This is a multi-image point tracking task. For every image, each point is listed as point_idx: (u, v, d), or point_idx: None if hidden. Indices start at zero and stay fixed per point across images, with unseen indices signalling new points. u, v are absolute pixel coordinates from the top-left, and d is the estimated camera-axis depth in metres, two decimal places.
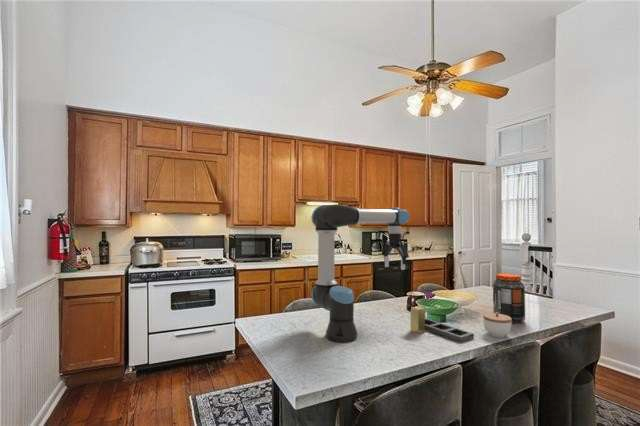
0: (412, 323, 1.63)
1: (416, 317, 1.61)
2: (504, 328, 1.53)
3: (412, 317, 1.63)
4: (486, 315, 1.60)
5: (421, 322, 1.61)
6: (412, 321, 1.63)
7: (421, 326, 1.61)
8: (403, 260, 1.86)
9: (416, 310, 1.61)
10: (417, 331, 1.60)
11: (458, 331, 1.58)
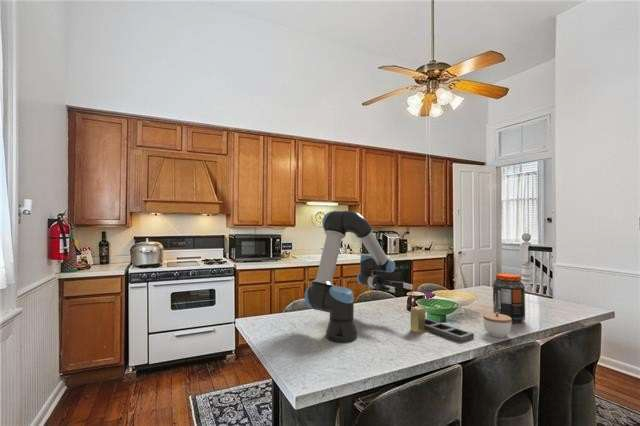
0: (412, 323, 1.63)
1: (416, 317, 1.61)
2: (504, 328, 1.53)
3: (412, 317, 1.63)
4: (486, 315, 1.60)
5: (421, 322, 1.61)
6: (412, 321, 1.63)
7: (421, 326, 1.61)
8: None
9: (416, 310, 1.61)
10: (417, 331, 1.60)
11: (458, 331, 1.58)
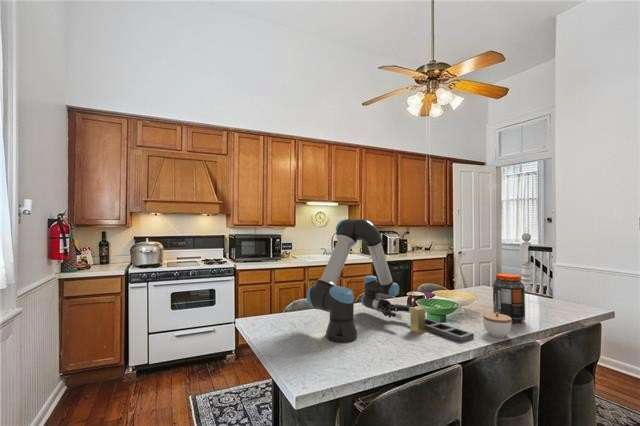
0: (412, 323, 1.63)
1: (416, 317, 1.61)
2: (504, 328, 1.53)
3: (412, 317, 1.63)
4: (486, 315, 1.60)
5: (421, 322, 1.61)
6: (412, 321, 1.63)
7: (421, 326, 1.61)
8: None
9: (416, 310, 1.61)
10: (417, 331, 1.60)
11: (458, 331, 1.58)
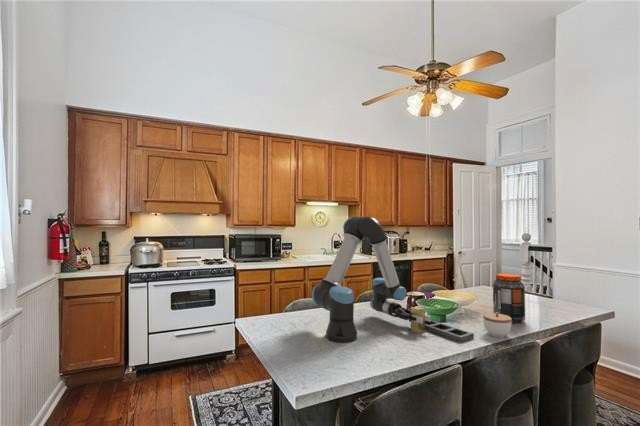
0: (412, 323, 1.63)
1: None
2: (504, 328, 1.53)
3: None
4: (486, 315, 1.60)
5: None
6: (412, 321, 1.63)
7: (421, 326, 1.61)
8: None
9: (416, 310, 1.61)
10: (417, 331, 1.60)
11: (458, 331, 1.58)
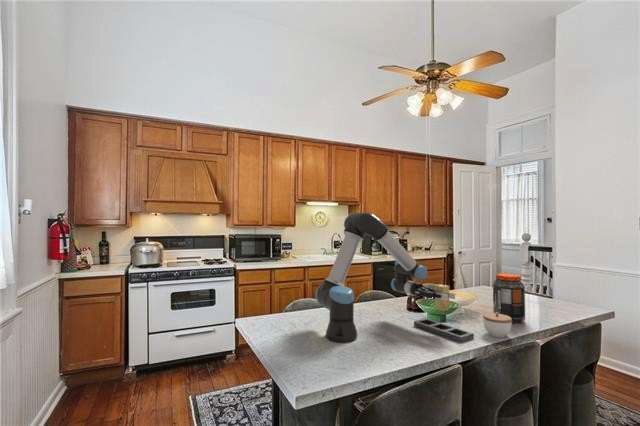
0: (436, 301, 1.63)
1: None
2: (504, 328, 1.53)
3: None
4: (486, 315, 1.60)
5: None
6: (436, 299, 1.63)
7: (446, 303, 1.61)
8: None
9: (440, 287, 1.61)
10: (441, 308, 1.60)
11: (458, 331, 1.58)
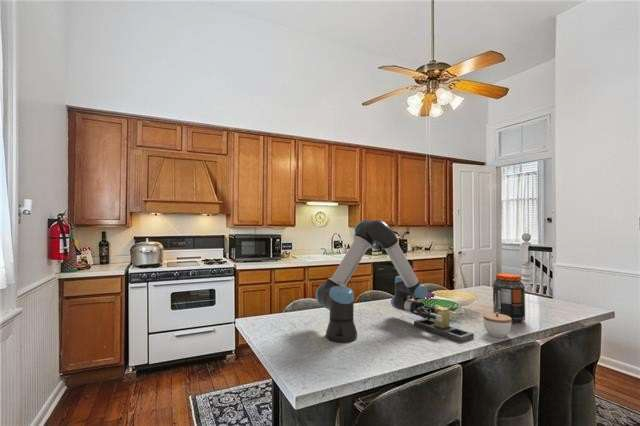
0: (436, 324, 1.62)
1: None
2: (504, 328, 1.53)
3: None
4: (486, 315, 1.60)
5: (445, 322, 1.60)
6: (436, 322, 1.62)
7: (446, 327, 1.60)
8: None
9: (440, 310, 1.60)
10: None
11: (458, 331, 1.58)
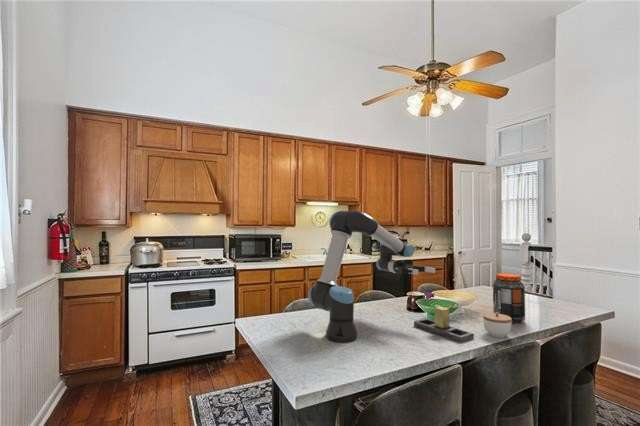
0: (436, 324, 1.62)
1: (440, 317, 1.60)
2: (504, 328, 1.53)
3: (436, 317, 1.62)
4: (486, 315, 1.60)
5: (445, 322, 1.60)
6: (436, 322, 1.62)
7: (446, 327, 1.60)
8: None
9: (440, 310, 1.60)
10: None
11: (458, 331, 1.58)
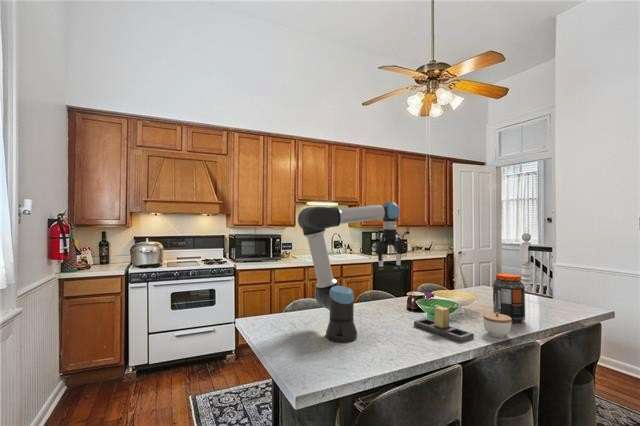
0: (436, 324, 1.62)
1: (440, 318, 1.60)
2: (504, 328, 1.53)
3: (436, 318, 1.62)
4: (486, 315, 1.60)
5: (445, 322, 1.60)
6: (436, 322, 1.62)
7: (446, 327, 1.60)
8: None
9: (440, 310, 1.60)
10: None
11: (458, 331, 1.58)
